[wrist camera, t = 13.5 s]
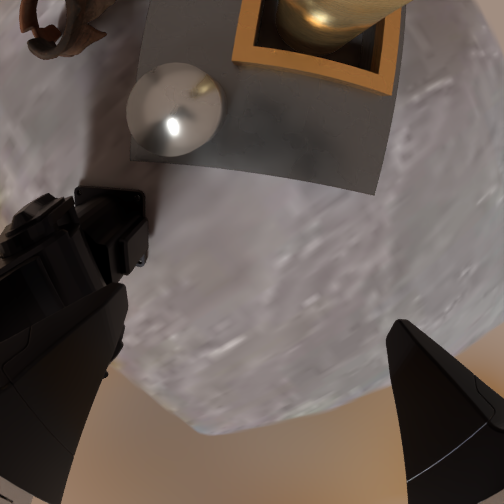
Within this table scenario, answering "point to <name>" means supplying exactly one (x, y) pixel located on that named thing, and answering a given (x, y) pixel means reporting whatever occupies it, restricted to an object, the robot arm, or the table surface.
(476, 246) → the table surface
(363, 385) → the table surface
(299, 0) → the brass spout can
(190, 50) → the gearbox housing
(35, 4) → the pottery mug
